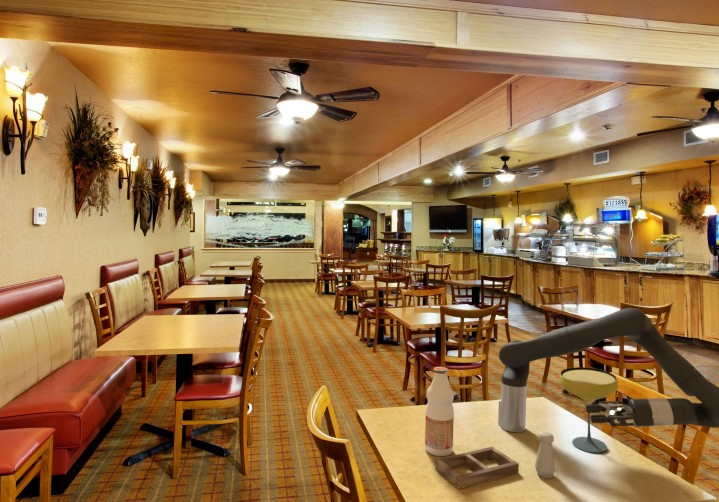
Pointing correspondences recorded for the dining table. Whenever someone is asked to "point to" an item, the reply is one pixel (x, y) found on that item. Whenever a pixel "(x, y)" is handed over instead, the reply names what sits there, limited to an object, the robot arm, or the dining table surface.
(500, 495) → the dining table surface
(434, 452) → the fruit juice
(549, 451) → the salt shaker
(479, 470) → the caddy
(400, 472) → the dining table surface
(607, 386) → the cocktail glass
